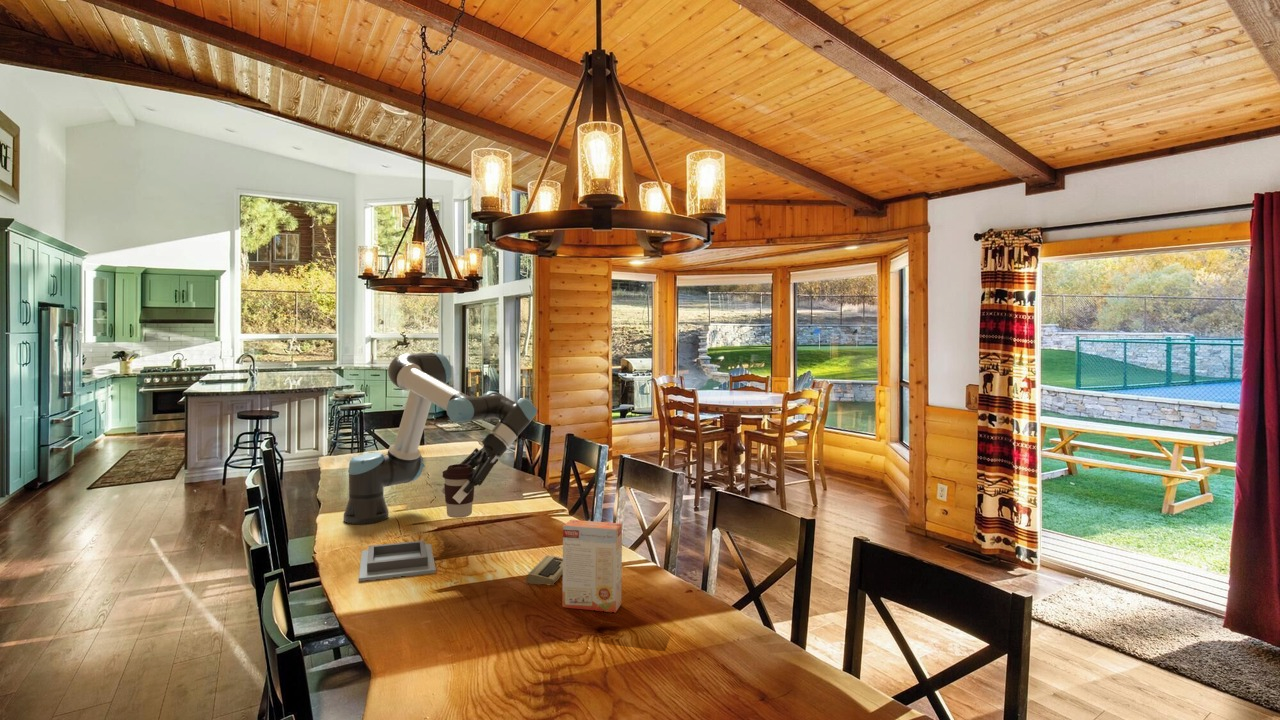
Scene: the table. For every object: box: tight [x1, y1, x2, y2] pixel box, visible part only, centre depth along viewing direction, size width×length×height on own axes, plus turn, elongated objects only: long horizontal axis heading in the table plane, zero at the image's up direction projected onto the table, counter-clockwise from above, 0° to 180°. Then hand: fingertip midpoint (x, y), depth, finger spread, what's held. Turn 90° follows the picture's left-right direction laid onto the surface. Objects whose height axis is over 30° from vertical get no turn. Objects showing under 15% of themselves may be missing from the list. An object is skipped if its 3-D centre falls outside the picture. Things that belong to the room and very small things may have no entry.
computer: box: [525, 554, 563, 586], centre depth 179 cm, size 16×8×3 cm, turn 169°
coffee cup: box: [442, 463, 476, 519], centre depth 192 cm, size 10×10×15 cm
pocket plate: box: [358, 539, 437, 582], centre depth 186 cm, size 24×20×4 cm
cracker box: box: [561, 519, 623, 614], centre depth 158 cm, size 14×6×21 cm, turn 77°
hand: (449, 496), depth 190 cm, fingers closed on coffee cup, 10 cm apart
